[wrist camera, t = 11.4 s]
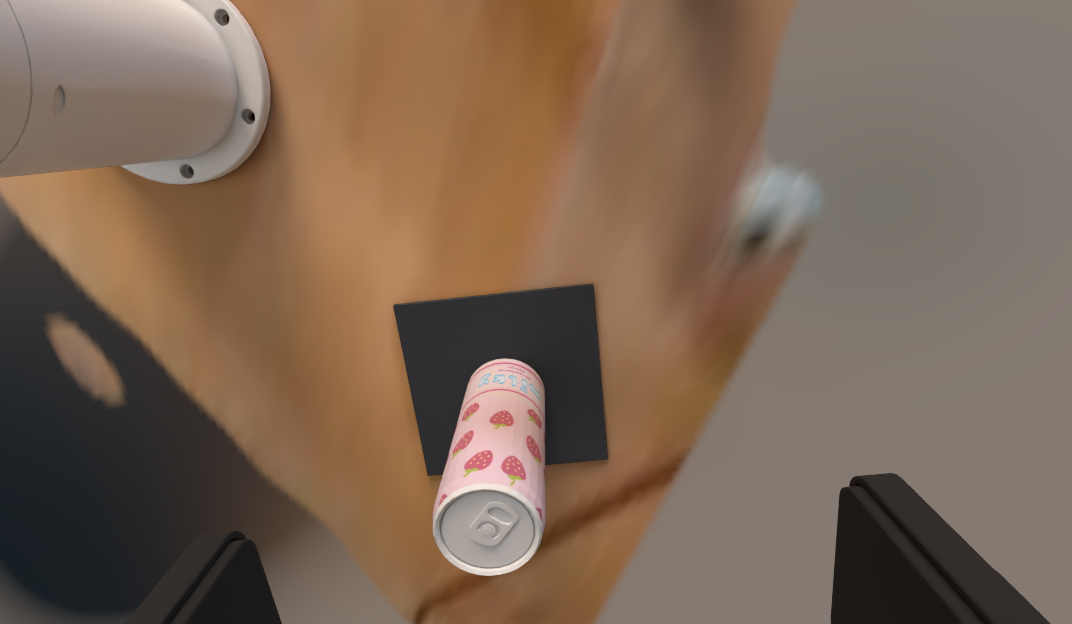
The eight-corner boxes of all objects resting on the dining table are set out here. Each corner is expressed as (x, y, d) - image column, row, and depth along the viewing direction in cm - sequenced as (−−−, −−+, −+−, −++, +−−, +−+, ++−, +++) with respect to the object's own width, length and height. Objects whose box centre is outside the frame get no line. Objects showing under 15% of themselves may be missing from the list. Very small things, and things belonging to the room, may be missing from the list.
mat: (394, 304, 39) (393, 305, 39) (592, 283, 39) (593, 284, 39) (428, 473, 44) (427, 476, 44) (607, 457, 43) (607, 459, 43)
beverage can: (550, 362, 40) (555, 492, 26) (538, 431, 42) (536, 587, 28) (472, 350, 40) (434, 475, 26) (463, 420, 42) (422, 572, 28)
